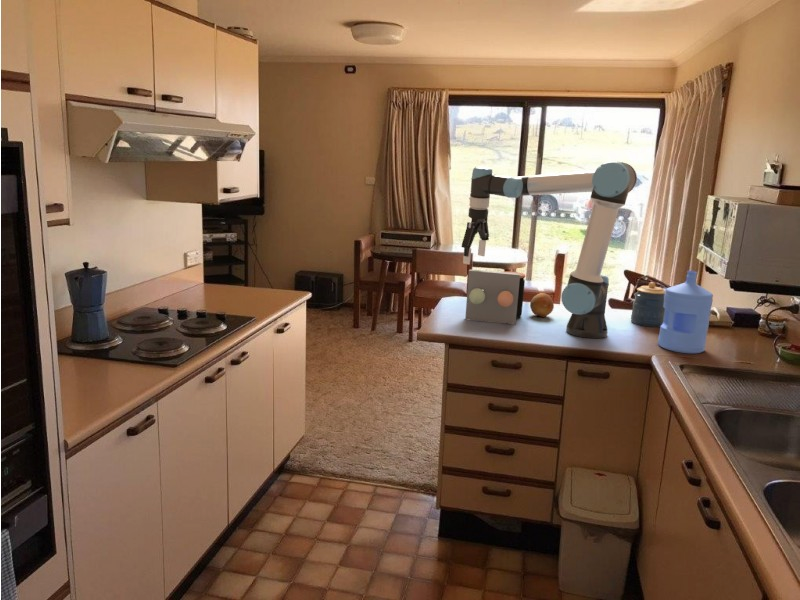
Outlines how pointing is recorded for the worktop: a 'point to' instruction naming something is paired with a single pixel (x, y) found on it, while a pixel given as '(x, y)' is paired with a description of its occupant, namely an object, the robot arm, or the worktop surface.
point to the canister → (648, 306)
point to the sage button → (477, 296)
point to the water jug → (685, 317)
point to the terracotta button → (505, 298)
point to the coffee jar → (520, 293)
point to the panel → (492, 296)
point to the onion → (541, 305)
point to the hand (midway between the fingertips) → (473, 259)
